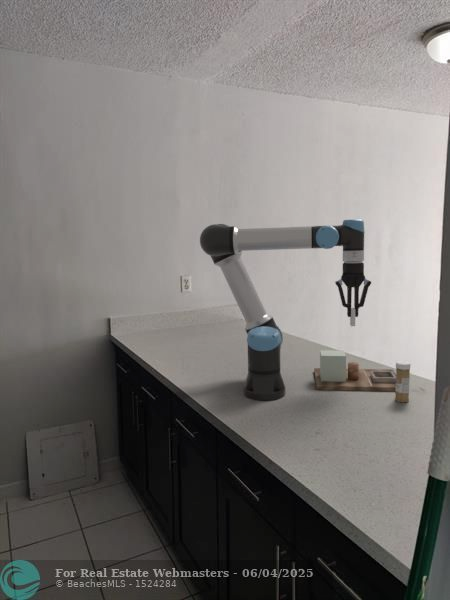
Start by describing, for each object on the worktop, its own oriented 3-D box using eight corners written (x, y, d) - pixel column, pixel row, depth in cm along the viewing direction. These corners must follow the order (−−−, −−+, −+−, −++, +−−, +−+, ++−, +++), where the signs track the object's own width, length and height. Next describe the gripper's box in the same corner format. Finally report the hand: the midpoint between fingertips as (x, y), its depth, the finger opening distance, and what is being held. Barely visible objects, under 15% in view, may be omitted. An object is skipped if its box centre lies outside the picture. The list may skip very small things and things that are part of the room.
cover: (321, 381, 179) (321, 355, 178) (320, 374, 187) (320, 350, 185) (345, 381, 178) (346, 356, 176) (343, 375, 186) (343, 350, 184)
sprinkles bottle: (392, 398, 164) (393, 360, 162) (405, 397, 164) (406, 360, 162) (398, 403, 160) (399, 364, 157) (411, 402, 160) (413, 363, 158)
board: (317, 389, 175) (317, 370, 174) (314, 371, 196) (314, 354, 195) (405, 391, 170) (405, 371, 169) (392, 373, 192) (392, 355, 191)
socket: (373, 382, 176) (373, 377, 176) (370, 375, 184) (370, 370, 184) (396, 383, 175) (396, 377, 175) (392, 376, 183) (392, 371, 183)
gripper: (336, 263, 171) (335, 327, 174) (373, 262, 169) (372, 327, 173) (333, 261, 178) (333, 323, 181) (369, 261, 176) (368, 323, 180)
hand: (352, 325), depth 177 cm, fingers closed
